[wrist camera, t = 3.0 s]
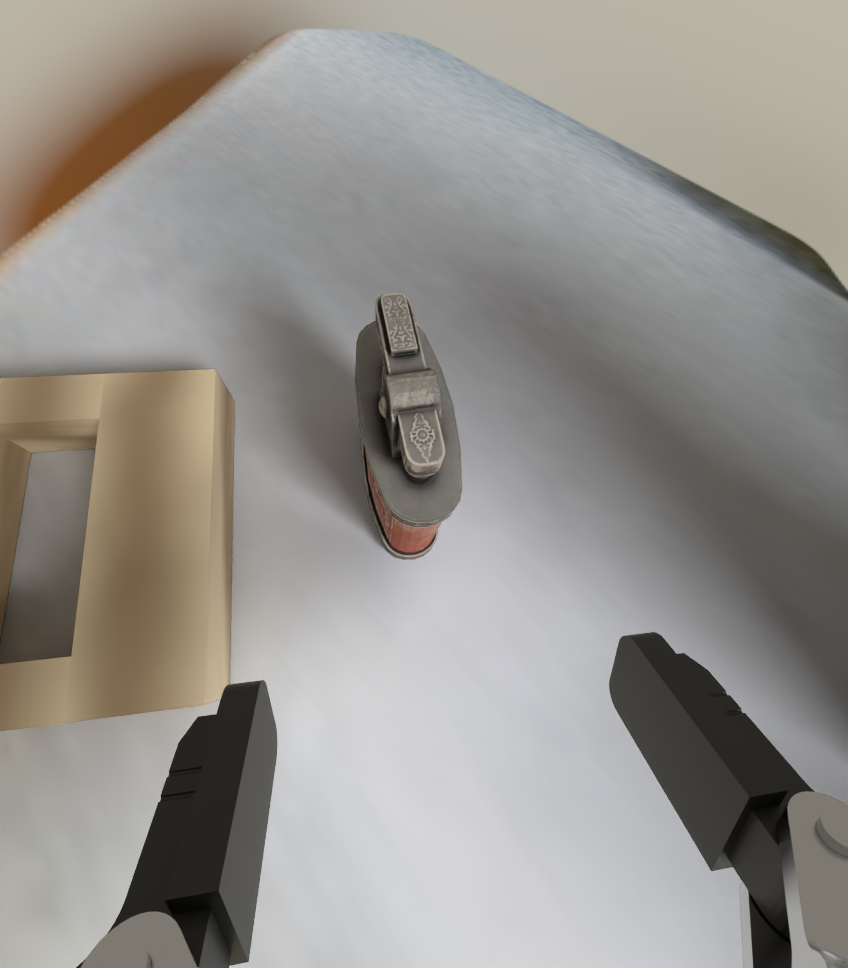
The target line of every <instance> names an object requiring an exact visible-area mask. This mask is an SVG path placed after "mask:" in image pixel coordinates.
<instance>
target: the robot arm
mask: <svg viewBox="0 0 848 968" xmlns="http://www.w3.org/2000/svg"><path fill="white" fill-rule="evenodd" d="M609 687H610V694H611V698H612V701H613V704H614V707H615V709H616V710H617V712H618V714H619V716H620V717H621V719H622V721H623V722H624V724H625V726H626V727H627V729H628V731H629V733H630V734H631V736H632V738H633V739H634V741H635V743H636V744H637V746H638V748H639V749H640V751H641V753H642V755H643V756H644V758H645V760H646V761H647V763H648V765H649V766H650V768H651V770H652V771H653V773H654V775H655V777H656V778H657V780H658V782H659V783H660V785H661V787H662V788H663V790H664V792H665V793H666V795H667V797H668V799H669V800H670V802H671V804H672V805H673V807H674V809H675V810H676V812H677V814H678V815H679V817H680V819H681V820H682V822H683V824H684V826H685V827H686V829H687V831H688V832H689V834H690V836H691V837H692V839H693V841H694V842H695V844H696V846H697V848H698V849H699V851H700V853H701V854H702V856H703V858H704V859H705V861H706V863H707V864H708V866H709V868H710V870H711V871H714V870H719V869H724V868H729V867H734V869H735V870H736V872H737V874H738V875H739V877H740V878H741V880H742V882H741V886H740V911H741V931H742V951H743V968H848V805H846V804H845V803H843V802H841V801H839V800H837V799H835V798H833V797H831V796H828V795H825V794H822V793H817V792H814V791H813V790H812V789H811V788H810V787H809V786H808V785H807V784H806V783H805V782H804V781H803V779H802V778H801V777H800V776H799V775H798V774H797V772H796V771H795V770H794V769H793V768H792V767H791V766H790V764H789V763H788V762H787V761H786V760H785V759H784V758H783V756H782V755H781V754H780V753H779V752H778V751H777V749H776V748H775V747H774V746H773V745H772V744H771V743H770V741H769V740H768V739H767V738H766V737H765V736H764V734H763V733H762V732H761V731H760V730H759V729H758V728H757V726H756V725H755V724H754V723H753V722H752V721H751V719H750V718H749V717H748V716H747V715H746V714H745V713H742V711H741V708H740V707H739V706H738V704H737V703H736V702H735V701H734V700H733V699H732V698H731V696H730V695H727V694H726V691H725V689H724V688H723V687H722V686H721V685H720V684H719V683H718V681H717V680H716V679H715V678H714V677H713V676H712V674H711V673H710V672H709V671H708V670H707V669H705V668H704V667H703V666H701V665H700V664H698V663H697V662H696V661H694V660H693V659H691V658H690V657H689V656H687V655H686V654H684V653H681V654H676V653H675V652H674V650H673V649H672V648H671V647H670V646H669V644H668V643H667V642H666V641H665V639H664V638H663V637H662V636H661V635H659V634H658V633H655V632H651V633H643V634H635V635H628V636H623V637H621V639H620V641H619V644H618V648H617V652H616V656H615V661H614V665H613V669H612V673H611V677H610V682H609ZM276 757H277V730H276V724H275V720H274V716H273V711H272V707H271V703H270V698H269V694H268V690H267V686H266V683H265V681H264V680H262V681H254V682H246V683H238V684H230V685H227V686H226V687H225V688H224V691H223V693H222V697H221V700H220V704H219V708H218V711H217V714H216V715H208V716H201V717H198V718H197V719H196V720H195V722H194V723H193V724H192V726H191V727H190V728H189V730H188V731H187V732H186V734H185V735H184V736H183V738H182V739H181V740H180V742H179V744H178V747H177V750H176V753H175V755H174V758H173V761H172V764H171V767H170V770H169V777H167V779H166V782H165V785H164V788H163V791H162V794H161V801H160V802H158V805H157V808H156V811H155V814H154V817H153V820H152V823H151V826H150V829H149V832H148V835H147V838H146V841H145V844H144V846H143V849H142V852H141V855H140V858H139V861H138V864H137V867H136V870H135V873H134V876H133V879H132V882H131V885H130V888H129V890H128V893H127V896H126V899H125V902H124V904H123V907H122V909H121V911H120V913H119V915H118V917H117V919H116V921H115V923H114V924H113V926H112V927H111V929H110V931H109V932H108V934H107V935H106V936H105V937H104V938H103V939H102V940H101V941H100V942H99V943H98V944H97V945H96V946H95V948H94V949H93V950H92V951H91V953H90V954H89V955H88V957H87V958H86V959H85V960H84V961H83V962H82V963H81V964H80V965H79V966H78V967H76V968H229V966H230V965H235V964H240V963H245V962H248V961H249V954H250V947H251V940H252V932H253V925H254V918H255V910H256V903H257V896H258V889H259V881H260V874H261V867H262V859H263V852H264V845H265V838H266V830H267V823H268V816H269V808H270V801H271V794H272V787H273V779H274V772H275V765H276Z"/></svg>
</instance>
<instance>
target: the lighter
mask: <svg viewBox="0 0 848 968" xmlns="http://www.w3.org/2000/svg"><path fill="white" fill-rule="evenodd" d="M355 382H356V393H357V403H358V414H359V424H360V431H361V435H362V447H361V451H362V462H363V473H364V483H365V489H366V493H367V497H368V501H369V505H370V509H371V513H372V517H373V519H374V522H375V525H376V527H377V530H378V532H379V535H380V537H381V540H382V543H383V545H384V547H385V548H386V550H387V551H388V553H390V554H391V555H393V556H394V557H396V558H399V559H403V560H414V559H417V558H419V557H422V556H424V555H425V554H426V553H428V552H429V551H430V550H431V548H432V547H433V545H434V543H435V542H436V540H437V535H438V528H439V526H440V524H441V522H443V521H444V520H445V519H447V518H448V517H449V516H450V515H451V514H452V512H453V511H454V509H455V508H456V506H457V504H458V503H459V501H460V498H461V492H462V476H461V451H460V442H459V436H458V430H457V425H456V419H455V413H454V407H453V403H452V400H451V397H450V394H449V391H448V388H447V385H446V382H445V379H444V376H443V373H442V370H441V367H440V365H439V363H438V361H437V359H436V357H435V355H434V352H433V350H432V348H431V346H430V344H429V342H428V340H427V338H426V336H425V334H424V333H423V331H422V330H421V329H420V327H418V326H417V325H416V321H415V317H414V313H413V308H412V304H411V302H410V299H409V298H408V297H407V296H406V295H404V294H402V293H389V294H385V295H381V296H380V297H378V298H377V300H376V321H374V322H372V323H371V324H369V325H367V326H366V327H365V328H364V329H363V330H362V331H361V332H360V334H359V336H358V340H357V347H356V372H355Z"/></svg>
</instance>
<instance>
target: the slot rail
mask: <svg viewBox="0 0 848 968" xmlns="http://www.w3.org/2000/svg"><path fill="white" fill-rule="evenodd" d="M234 419H235V401H234V399H233V397H232V396H231V394H230V392H229V391H228V389H227V387H226V385H225V384H224V382H223V380H222V379H221V377H220V375H219V374H218V372H217V370H216V369H202V370H178V371H155V372H131V373H107V374H84V375H60V376H36V377H12V378H0V640H1V634H2V628H3V622H4V616H5V609H6V603H7V597H8V591H9V585H10V579H11V573H12V567H13V561H14V554H15V548H16V542H17V536H18V530H19V524H20V518H21V512H22V505H23V499H24V493H25V487H26V481H27V475H28V469H29V463H30V457H31V452H46V451H62V450H79V449H95V448H96V450H95V459H94V467H93V476H92V485H91V493H90V502H89V510H88V519H87V527H86V536H85V544H84V553H83V561H82V570H81V578H80V587H79V595H78V604H77V612H76V621H75V629H74V638H73V646H72V655H71V656H69V657H60V658H51V659H42V660H33V661H24V662H15V663H6V664H0V731H4V730H12V729H20V728H28V727H36V726H44V725H51V724H59V723H67V722H75V721H83V720H91V719H98V718H106V717H114V716H122V715H130V714H138V713H146V712H153V711H161V710H169V709H177V708H185V707H193V706H200V705H206V704H208V703H211V702H214V701H216V700H219V699H221V697H222V693H223V691H224V688H225V687H226V686H227V685H230V643H231V587H232V531H233V475H234Z"/></svg>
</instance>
